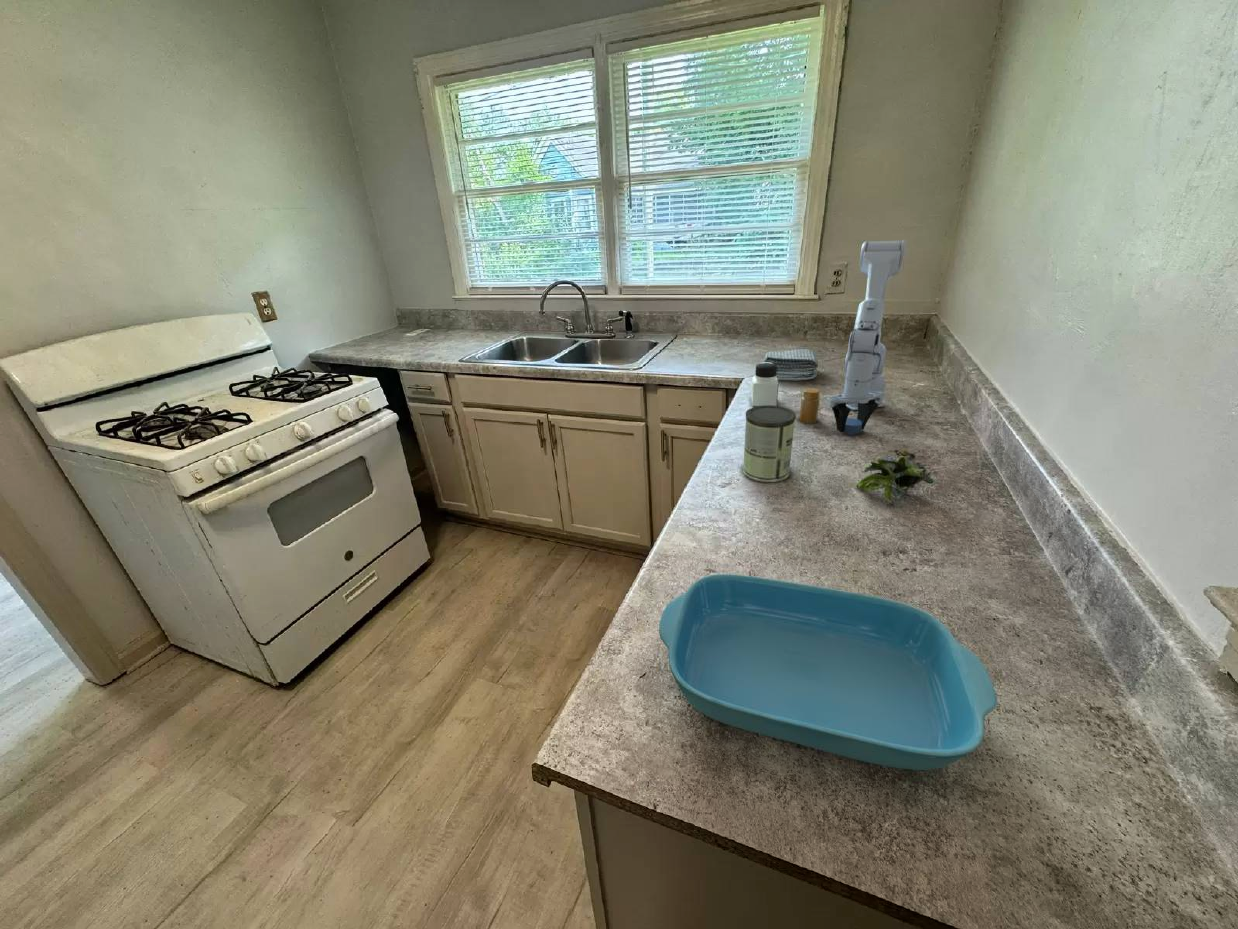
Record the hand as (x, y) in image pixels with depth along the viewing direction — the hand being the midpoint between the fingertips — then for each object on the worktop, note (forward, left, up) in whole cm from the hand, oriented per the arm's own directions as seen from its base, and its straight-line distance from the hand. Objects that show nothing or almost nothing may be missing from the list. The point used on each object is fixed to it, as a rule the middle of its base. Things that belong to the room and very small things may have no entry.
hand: (849, 429), depth 128 cm
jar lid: (0, 0, +2) cm, 2 cm away
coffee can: (+30, +14, -1) cm, 33 cm away
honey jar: (+6, -10, 0) cm, 12 cm away
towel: (-9, -50, -1) cm, 51 cm away
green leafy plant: (+11, +31, -1) cm, 33 cm away
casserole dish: (+50, +67, -1) cm, 84 cm away
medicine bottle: (+11, -27, -1) cm, 29 cm away
